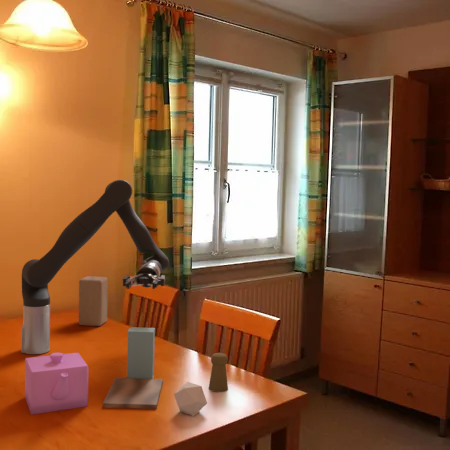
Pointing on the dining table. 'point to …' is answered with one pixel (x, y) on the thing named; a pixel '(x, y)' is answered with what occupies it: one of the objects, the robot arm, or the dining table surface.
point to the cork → (218, 373)
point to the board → (134, 393)
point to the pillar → (140, 353)
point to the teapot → (56, 382)
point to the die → (190, 398)
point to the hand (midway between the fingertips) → (140, 286)
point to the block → (93, 300)
